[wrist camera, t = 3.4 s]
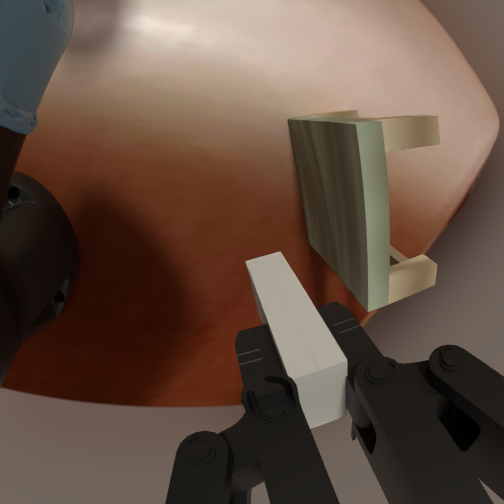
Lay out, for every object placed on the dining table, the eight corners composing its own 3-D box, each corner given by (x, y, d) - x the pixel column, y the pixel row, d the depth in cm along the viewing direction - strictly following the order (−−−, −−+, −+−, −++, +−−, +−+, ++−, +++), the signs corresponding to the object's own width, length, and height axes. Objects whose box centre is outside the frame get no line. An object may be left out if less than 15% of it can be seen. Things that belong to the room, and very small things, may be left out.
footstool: (308, 242, 28) (367, 312, 18) (287, 119, 23) (355, 124, 13) (361, 227, 28) (434, 284, 18) (348, 110, 23) (437, 116, 13)
